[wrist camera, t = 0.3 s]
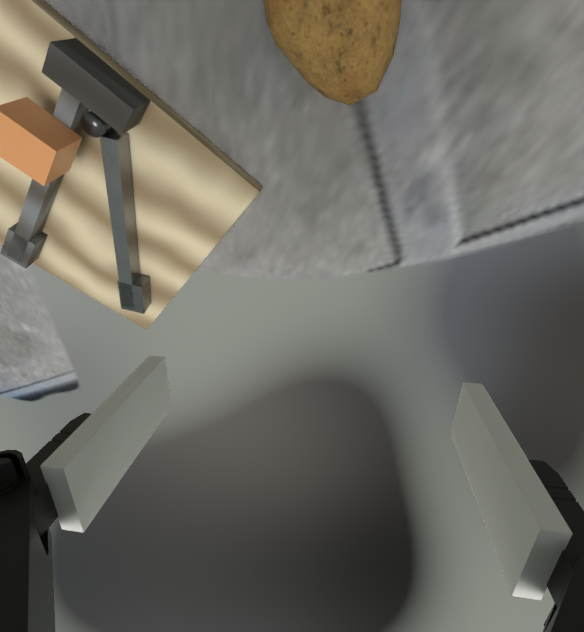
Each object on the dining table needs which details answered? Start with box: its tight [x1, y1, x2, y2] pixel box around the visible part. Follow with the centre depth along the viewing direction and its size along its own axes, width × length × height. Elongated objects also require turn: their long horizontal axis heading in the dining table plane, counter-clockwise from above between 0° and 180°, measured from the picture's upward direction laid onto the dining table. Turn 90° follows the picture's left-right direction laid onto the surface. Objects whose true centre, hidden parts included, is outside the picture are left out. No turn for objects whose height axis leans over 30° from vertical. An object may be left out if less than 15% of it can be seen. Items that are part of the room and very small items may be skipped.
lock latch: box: [0, 97, 82, 186], centre depth 32 cm, size 4×5×4 cm
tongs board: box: [0, 0, 262, 330], centre depth 40 cm, size 28×26×5 cm
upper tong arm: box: [81, 111, 151, 314], centre depth 40 cm, size 24×4×3 cm, turn 168°
